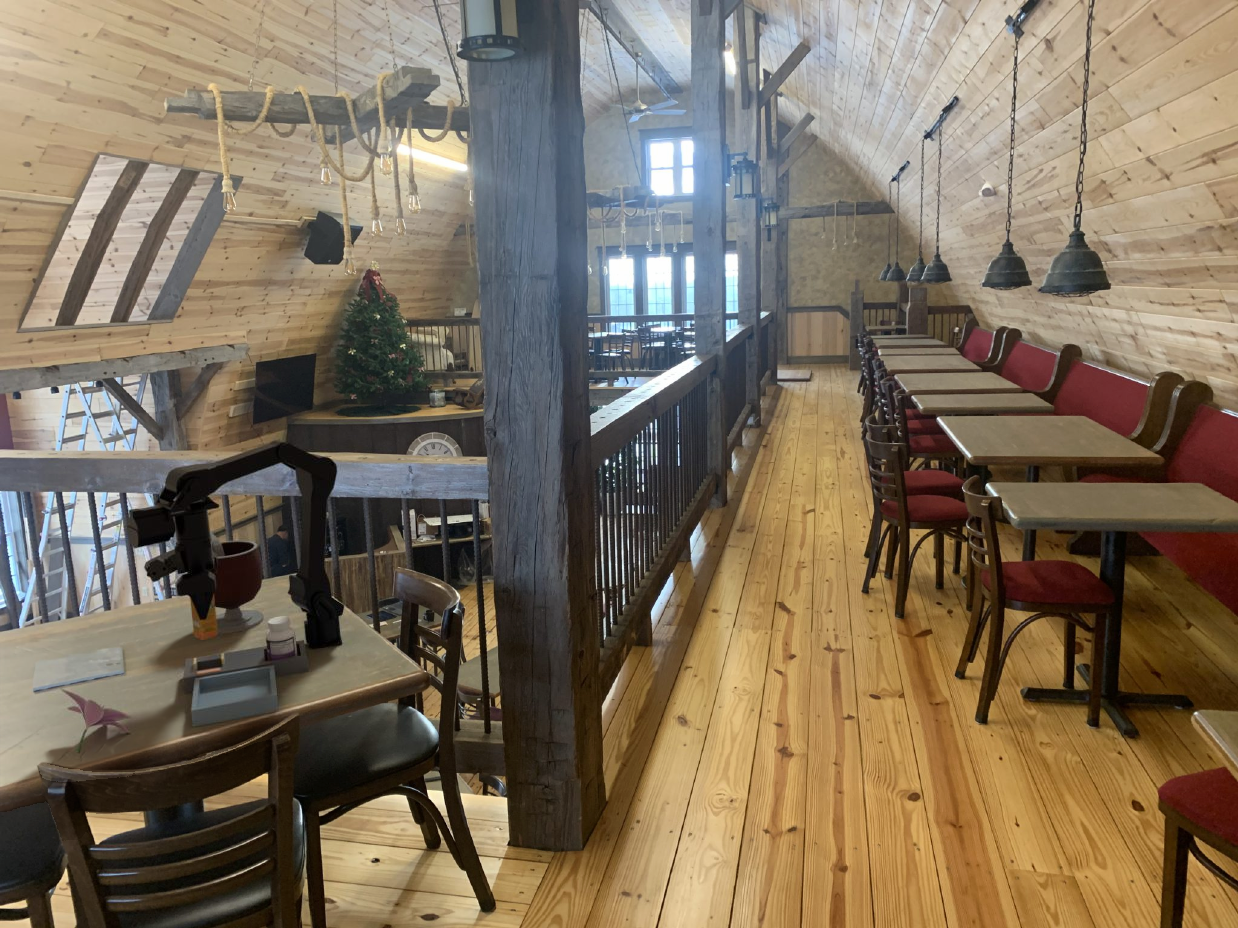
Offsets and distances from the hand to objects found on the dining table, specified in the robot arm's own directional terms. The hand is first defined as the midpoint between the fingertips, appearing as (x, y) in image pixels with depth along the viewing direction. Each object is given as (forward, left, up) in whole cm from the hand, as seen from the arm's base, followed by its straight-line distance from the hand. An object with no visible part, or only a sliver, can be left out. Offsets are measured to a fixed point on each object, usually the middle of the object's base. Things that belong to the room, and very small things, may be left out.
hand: (203, 615), depth 167 cm
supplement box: (0, 0, -4) cm, 4 cm away
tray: (-4, +13, -13) cm, 18 cm away
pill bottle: (-13, 0, -13) cm, 18 cm away
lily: (+16, +18, -13) cm, 27 cm away
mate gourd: (-3, -30, -13) cm, 33 cm away
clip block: (-6, 0, -13) cm, 14 cm away
